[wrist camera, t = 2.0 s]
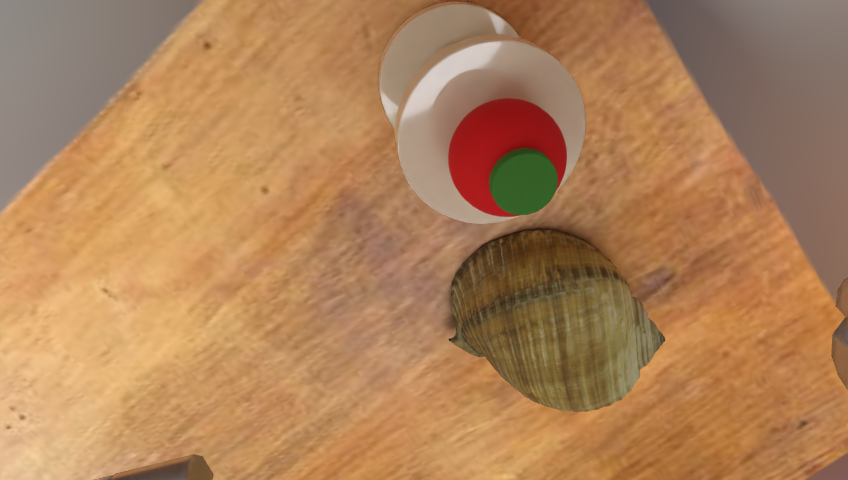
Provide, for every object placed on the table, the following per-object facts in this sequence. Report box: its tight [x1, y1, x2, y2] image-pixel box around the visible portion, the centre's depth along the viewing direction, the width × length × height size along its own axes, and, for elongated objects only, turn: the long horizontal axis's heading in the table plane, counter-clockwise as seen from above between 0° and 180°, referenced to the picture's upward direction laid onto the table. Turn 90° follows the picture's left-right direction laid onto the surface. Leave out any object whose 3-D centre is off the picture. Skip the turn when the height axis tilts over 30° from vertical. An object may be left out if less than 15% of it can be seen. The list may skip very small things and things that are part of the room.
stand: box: [378, 1, 586, 224], centre depth 24 cm, size 6×6×7 cm
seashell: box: [449, 229, 665, 412], centre depth 31 cm, size 10×7×8 cm
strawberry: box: [448, 98, 567, 217], centre depth 19 cm, size 3×3×4 cm
